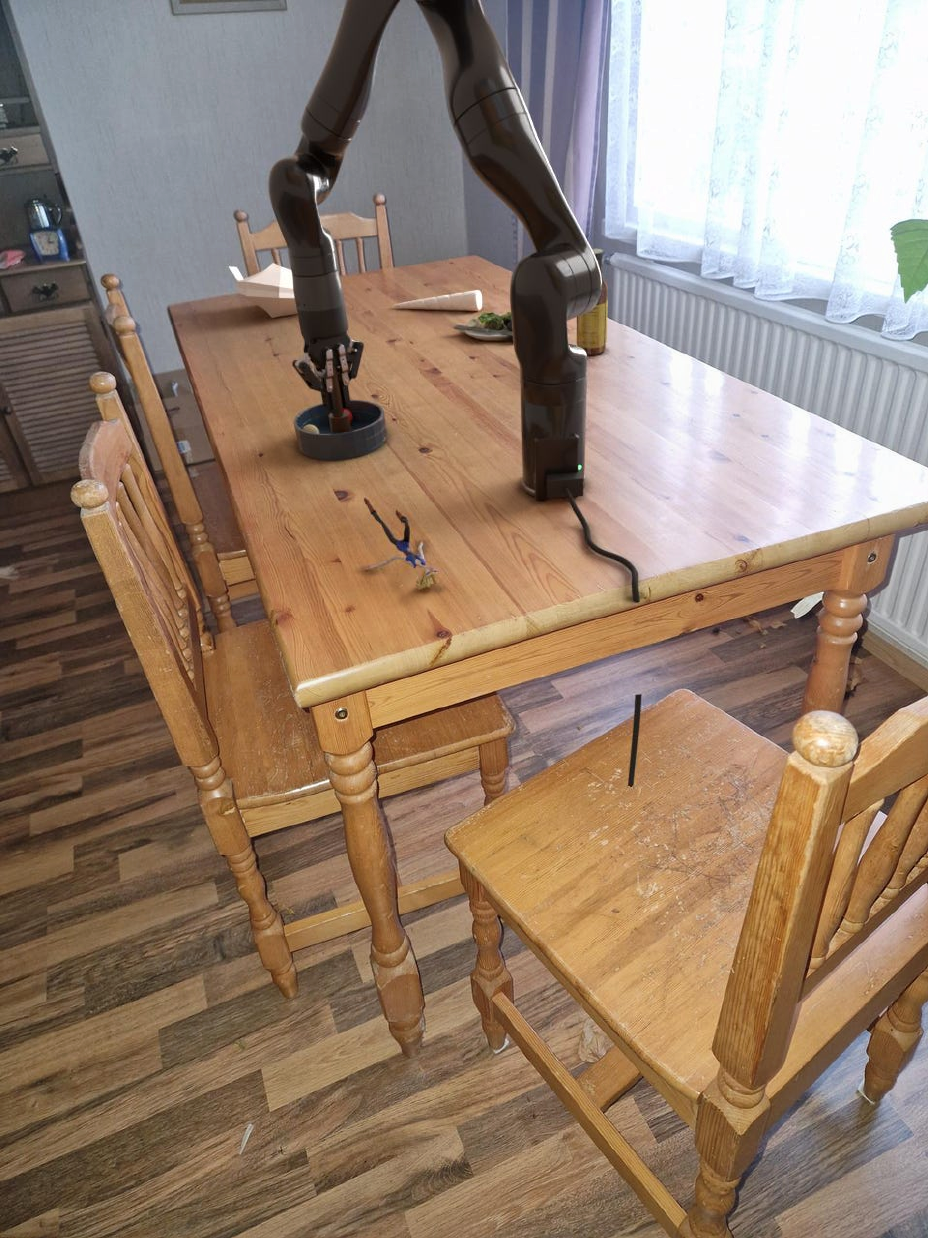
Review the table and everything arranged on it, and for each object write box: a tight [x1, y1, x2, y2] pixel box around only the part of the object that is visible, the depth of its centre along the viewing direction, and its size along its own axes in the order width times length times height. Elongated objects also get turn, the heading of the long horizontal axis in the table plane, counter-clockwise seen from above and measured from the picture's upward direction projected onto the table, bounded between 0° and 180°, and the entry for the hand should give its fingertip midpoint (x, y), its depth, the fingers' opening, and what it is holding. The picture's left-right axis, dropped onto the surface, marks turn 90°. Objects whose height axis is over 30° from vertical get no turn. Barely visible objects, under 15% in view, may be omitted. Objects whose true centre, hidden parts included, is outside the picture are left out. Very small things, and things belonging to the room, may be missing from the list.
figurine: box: [363, 497, 439, 591], centre depth 104 cm, size 10×9×20 cm
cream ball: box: [302, 425, 319, 434], centre depth 139 cm, size 3×3×3 cm
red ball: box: [344, 409, 353, 424], centre depth 144 cm, size 3×3×3 cm
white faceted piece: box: [228, 262, 298, 319], centre depth 207 cm, size 25×24×12 cm
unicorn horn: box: [392, 289, 483, 312], centre depth 203 cm, size 5×24×5 cm, turn 68°
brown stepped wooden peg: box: [329, 366, 351, 434], centre depth 134 cm, size 3×3×14 cm
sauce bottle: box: [576, 248, 609, 356], centre depth 164 cm, size 7×6×20 cm
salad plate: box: [452, 311, 513, 342], centre depth 184 cm, size 19×18×5 cm
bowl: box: [292, 399, 388, 461], centre depth 139 cm, size 15×15×4 cm
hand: (337, 408), depth 135 cm, fingers closed on brown stepped wooden peg, 2 cm apart
